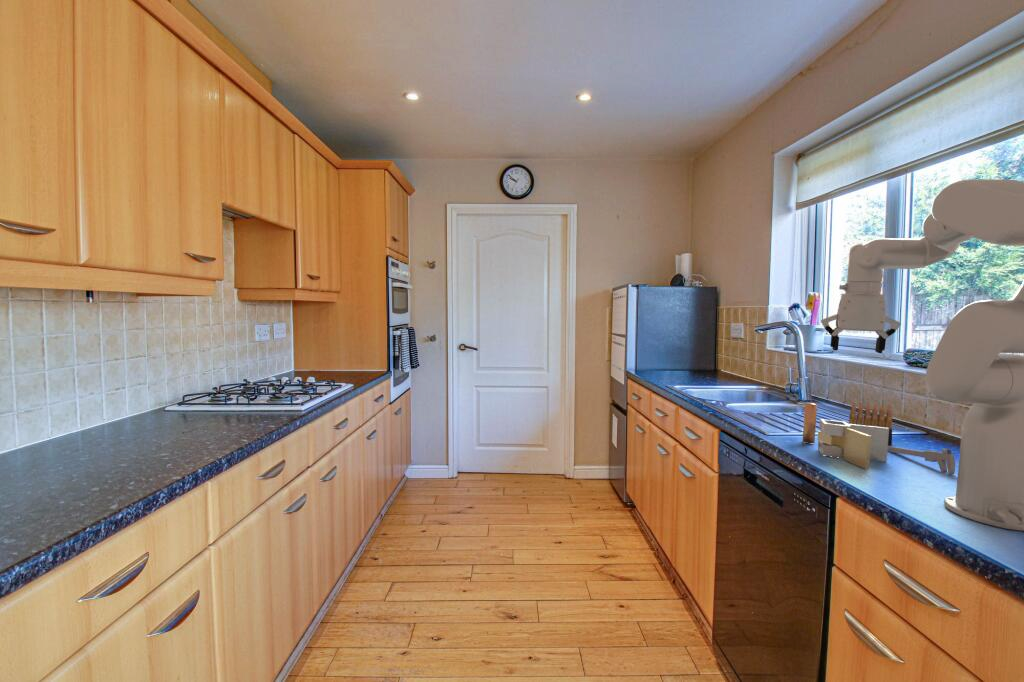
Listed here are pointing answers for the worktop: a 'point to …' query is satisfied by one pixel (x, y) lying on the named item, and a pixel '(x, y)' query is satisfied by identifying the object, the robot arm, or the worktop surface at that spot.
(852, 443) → the hinge leaf
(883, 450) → the hinge fixed
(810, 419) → the pin
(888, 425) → the ammunition clip
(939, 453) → the caliper
